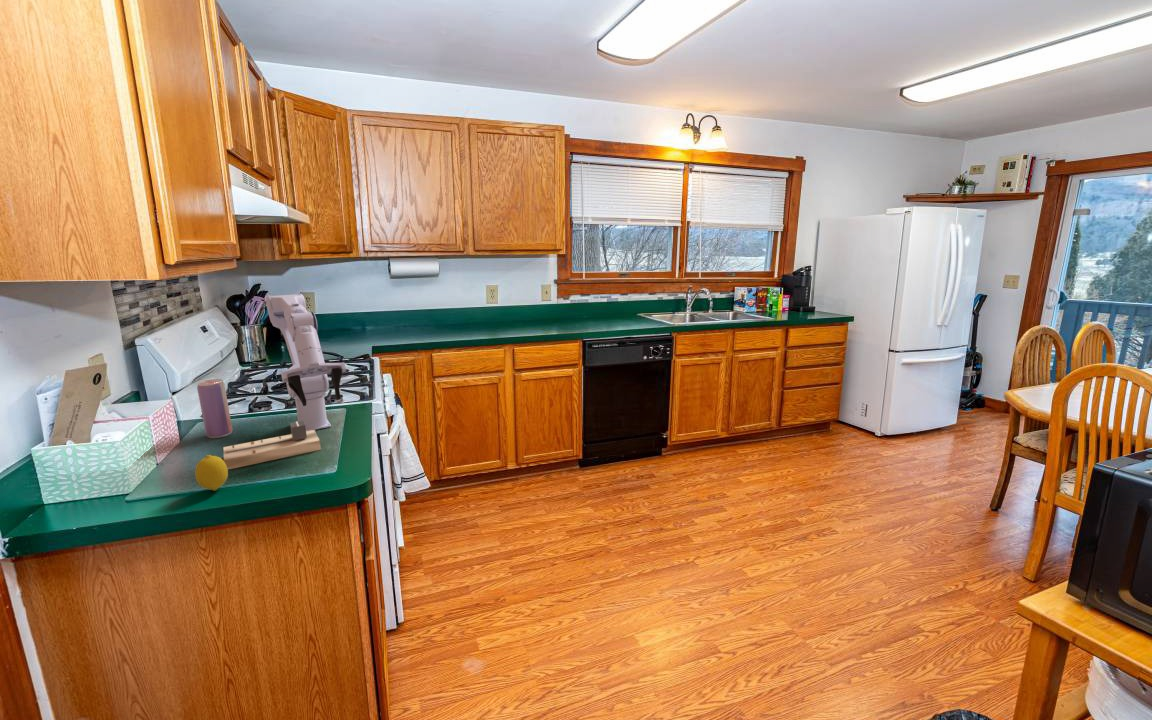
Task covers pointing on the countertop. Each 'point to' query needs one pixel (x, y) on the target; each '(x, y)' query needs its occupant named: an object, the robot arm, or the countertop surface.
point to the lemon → (211, 472)
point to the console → (269, 449)
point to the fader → (298, 430)
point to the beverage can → (214, 408)
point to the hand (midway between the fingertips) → (321, 401)
